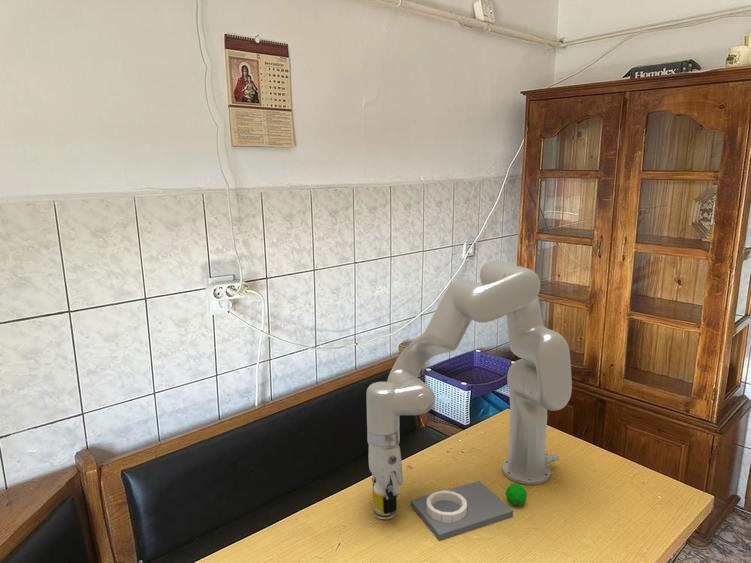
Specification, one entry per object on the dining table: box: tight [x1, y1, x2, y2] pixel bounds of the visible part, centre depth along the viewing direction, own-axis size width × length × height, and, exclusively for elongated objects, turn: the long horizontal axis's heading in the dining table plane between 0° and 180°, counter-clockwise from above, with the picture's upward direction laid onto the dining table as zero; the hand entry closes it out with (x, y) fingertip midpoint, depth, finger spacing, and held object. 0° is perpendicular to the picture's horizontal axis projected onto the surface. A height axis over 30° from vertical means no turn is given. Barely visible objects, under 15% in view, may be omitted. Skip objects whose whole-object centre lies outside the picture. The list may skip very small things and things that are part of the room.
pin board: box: [410, 480, 514, 542], centre depth 129 cm, size 20×14×4 cm
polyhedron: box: [505, 483, 528, 506], centre depth 131 cm, size 5×5×5 cm
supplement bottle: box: [372, 480, 397, 520], centre depth 128 cm, size 5×5×10 cm
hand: (384, 503), depth 128 cm, fingers closed on supplement bottle, 5 cm apart
